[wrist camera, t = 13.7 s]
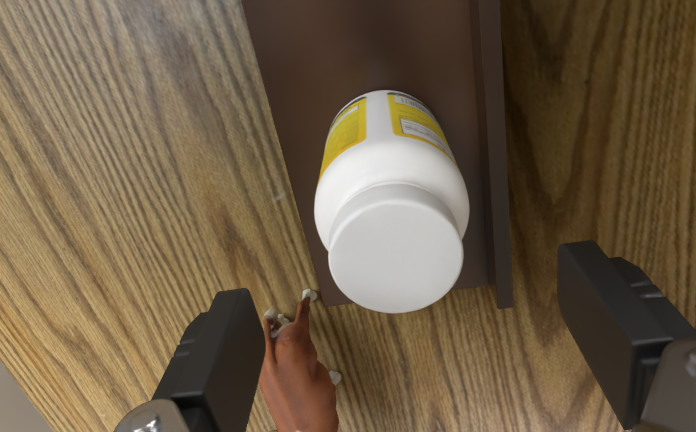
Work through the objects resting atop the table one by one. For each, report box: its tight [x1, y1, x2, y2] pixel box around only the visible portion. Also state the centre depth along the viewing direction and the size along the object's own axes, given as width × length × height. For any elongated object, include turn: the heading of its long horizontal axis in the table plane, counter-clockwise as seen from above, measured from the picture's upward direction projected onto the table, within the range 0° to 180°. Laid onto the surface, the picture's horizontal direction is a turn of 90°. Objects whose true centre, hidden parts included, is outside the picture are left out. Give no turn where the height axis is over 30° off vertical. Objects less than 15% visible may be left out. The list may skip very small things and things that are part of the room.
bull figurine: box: [259, 289, 342, 432], centre depth 31 cm, size 4×13×8 cm, turn 7°
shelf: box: [241, 0, 513, 309], centre depth 24 cm, size 10×18×6 cm, turn 11°
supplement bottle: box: [314, 90, 469, 313], centre depth 18 cm, size 5×5×10 cm
